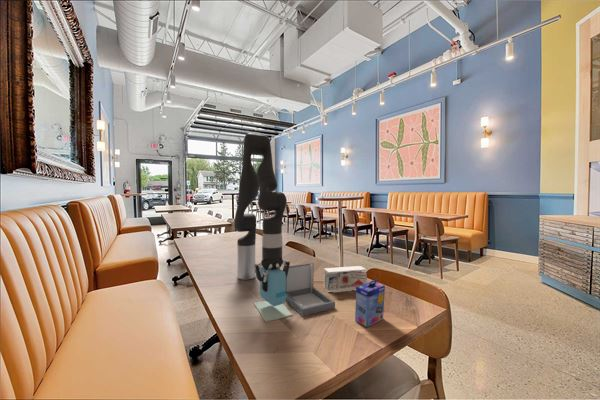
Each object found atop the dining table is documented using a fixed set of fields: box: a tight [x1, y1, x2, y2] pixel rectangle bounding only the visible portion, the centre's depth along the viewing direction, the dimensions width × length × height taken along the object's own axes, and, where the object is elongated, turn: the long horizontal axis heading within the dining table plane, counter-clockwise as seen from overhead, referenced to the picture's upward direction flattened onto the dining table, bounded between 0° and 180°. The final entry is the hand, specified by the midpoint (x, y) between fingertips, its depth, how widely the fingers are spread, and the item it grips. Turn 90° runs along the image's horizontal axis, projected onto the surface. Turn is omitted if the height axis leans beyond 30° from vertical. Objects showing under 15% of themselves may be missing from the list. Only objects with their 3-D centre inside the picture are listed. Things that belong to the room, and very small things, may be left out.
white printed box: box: [323, 265, 368, 293], centre depth 113 cm, size 20×6×9 cm, turn 104°
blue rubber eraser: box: [259, 266, 287, 306], centre depth 92 cm, size 12×4×12 cm, turn 36°
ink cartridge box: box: [354, 278, 386, 328], centre depth 85 cm, size 10×6×14 cm, turn 128°
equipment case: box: [286, 262, 336, 317], centre depth 98 cm, size 18×14×13 cm
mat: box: [253, 300, 293, 323], centre depth 92 cm, size 15×10×1 cm, turn 26°
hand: (272, 289), depth 92 cm, fingers closed on blue rubber eraser, 5 cm apart
